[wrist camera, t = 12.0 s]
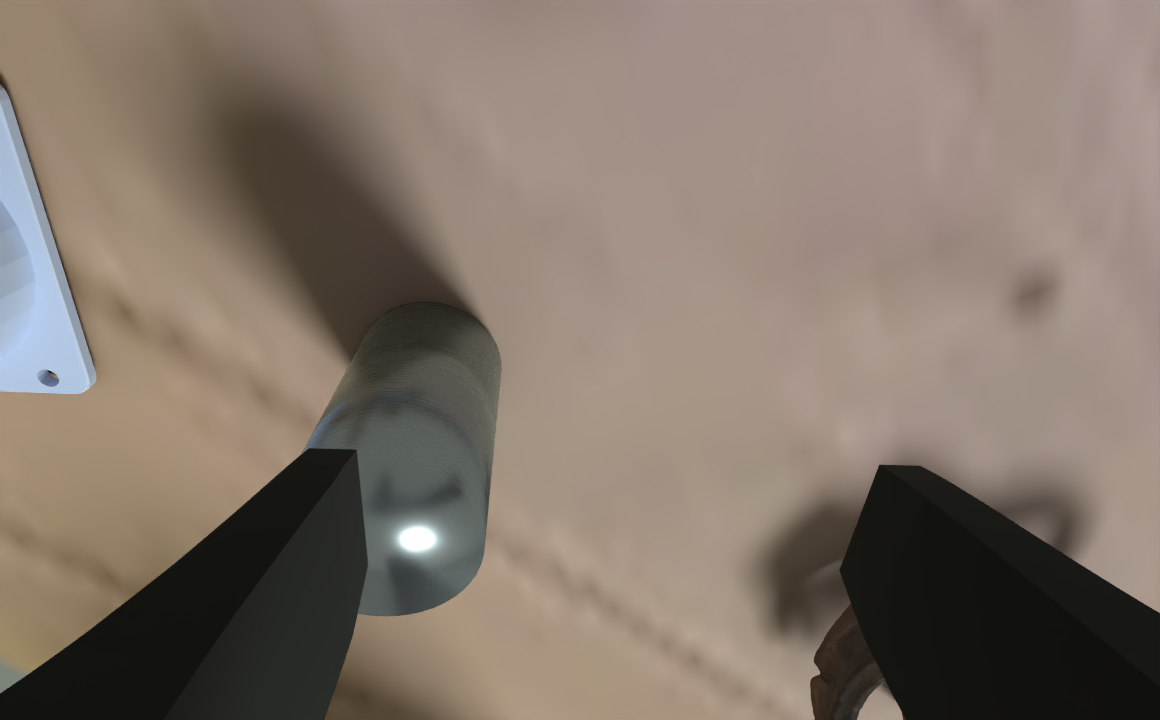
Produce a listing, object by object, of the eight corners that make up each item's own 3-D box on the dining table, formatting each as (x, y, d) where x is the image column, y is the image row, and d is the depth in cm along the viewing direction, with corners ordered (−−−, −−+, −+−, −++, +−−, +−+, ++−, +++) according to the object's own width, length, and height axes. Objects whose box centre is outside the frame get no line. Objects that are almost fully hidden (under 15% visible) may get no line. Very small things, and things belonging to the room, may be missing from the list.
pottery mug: (837, 727, 29) (847, 893, 21) (779, 529, 29) (768, 625, 21) (1163, 712, 24) (1324, 916, 17) (1098, 479, 24) (1232, 577, 16)
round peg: (365, 422, 19) (283, 615, 13) (354, 298, 17) (252, 455, 11) (500, 426, 19) (483, 617, 13) (503, 305, 17) (486, 461, 11)
